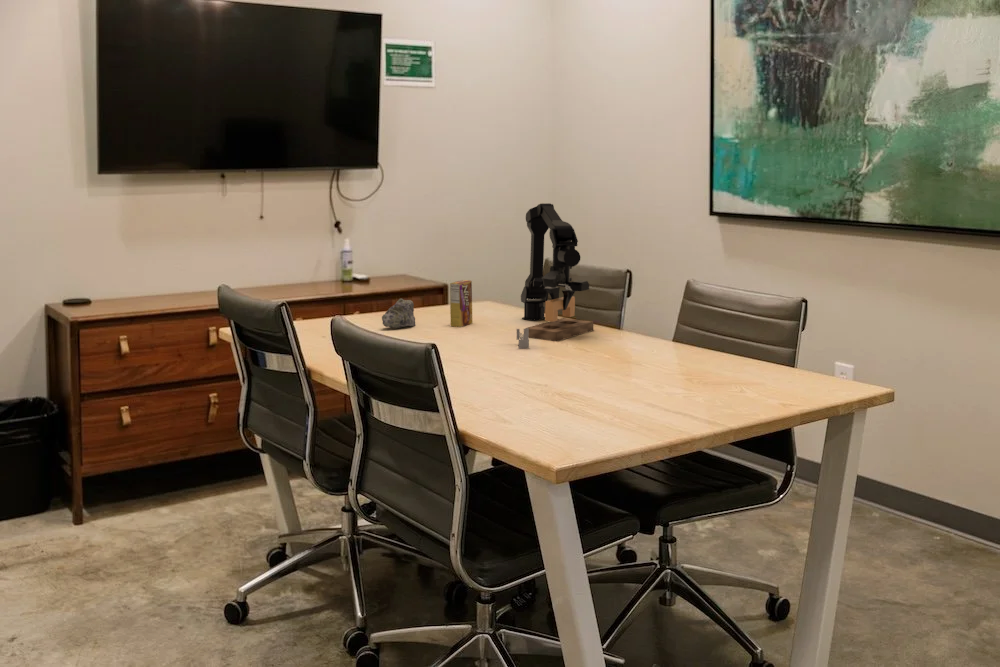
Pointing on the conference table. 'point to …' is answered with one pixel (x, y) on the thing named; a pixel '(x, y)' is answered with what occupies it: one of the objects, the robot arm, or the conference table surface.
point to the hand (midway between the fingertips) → (560, 309)
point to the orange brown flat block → (556, 305)
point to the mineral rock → (399, 315)
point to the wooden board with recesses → (560, 329)
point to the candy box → (461, 303)
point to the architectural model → (523, 338)
